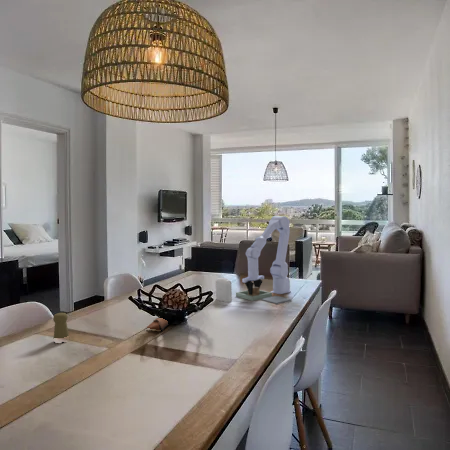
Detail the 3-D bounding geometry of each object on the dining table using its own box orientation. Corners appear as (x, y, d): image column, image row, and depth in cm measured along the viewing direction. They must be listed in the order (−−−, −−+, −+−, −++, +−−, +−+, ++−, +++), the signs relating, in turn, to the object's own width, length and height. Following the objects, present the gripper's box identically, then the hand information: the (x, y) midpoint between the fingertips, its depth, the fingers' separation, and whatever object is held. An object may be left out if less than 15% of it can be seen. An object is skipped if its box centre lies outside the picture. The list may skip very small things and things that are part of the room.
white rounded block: (214, 299, 214) (214, 277, 214) (221, 298, 217) (220, 276, 216) (226, 303, 206) (226, 279, 206) (233, 301, 209) (232, 278, 208)
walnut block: (253, 294, 221) (253, 285, 221) (259, 296, 217) (259, 287, 217) (248, 296, 219) (247, 286, 219) (254, 297, 215) (253, 288, 215)
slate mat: (276, 297, 216) (276, 295, 216) (291, 301, 207) (291, 299, 207) (261, 300, 209) (261, 298, 209) (276, 304, 201) (276, 302, 201)
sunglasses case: (158, 318, 181) (165, 306, 180) (171, 326, 180) (178, 314, 179) (142, 331, 164) (149, 318, 163) (156, 340, 163) (163, 327, 162)
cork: (73, 339, 156) (71, 311, 156) (62, 344, 150) (60, 316, 150) (60, 337, 158) (59, 310, 158) (49, 343, 152) (48, 315, 152)
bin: (254, 293, 228) (254, 288, 228) (271, 297, 217) (271, 292, 217) (236, 297, 219) (235, 292, 219) (252, 301, 208) (252, 296, 208)
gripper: (247, 271, 210) (248, 297, 210) (267, 268, 218) (268, 292, 219) (239, 270, 215) (240, 294, 216) (259, 267, 224) (259, 290, 225)
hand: (253, 293), depth 218 cm, fingers closed on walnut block, 4 cm apart
